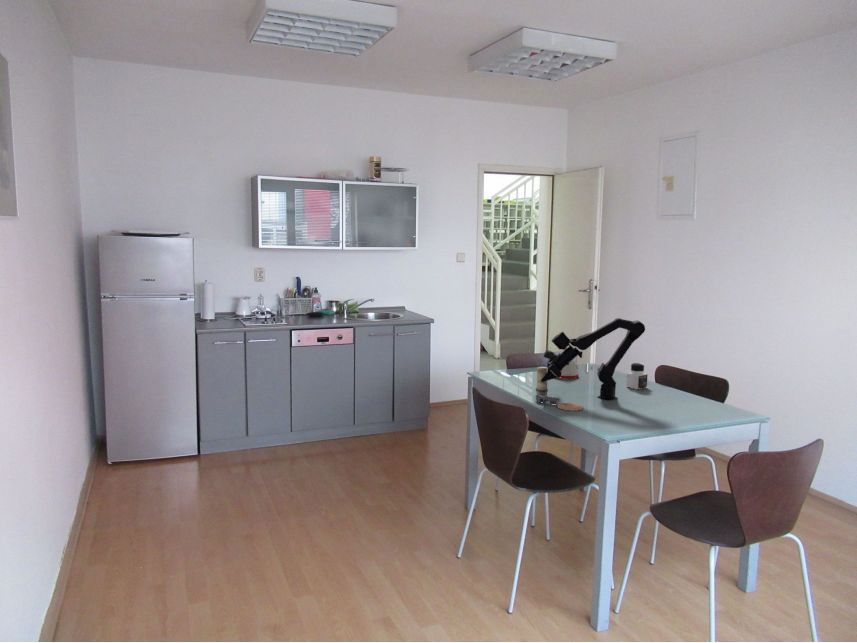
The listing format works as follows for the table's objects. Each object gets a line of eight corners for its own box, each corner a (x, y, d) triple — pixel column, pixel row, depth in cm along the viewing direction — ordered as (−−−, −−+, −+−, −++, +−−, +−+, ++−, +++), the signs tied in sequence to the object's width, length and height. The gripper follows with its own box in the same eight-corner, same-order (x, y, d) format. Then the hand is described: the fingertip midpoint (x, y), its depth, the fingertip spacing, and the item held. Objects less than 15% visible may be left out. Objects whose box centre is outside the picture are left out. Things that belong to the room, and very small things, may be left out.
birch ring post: (542, 393, 303) (543, 366, 301) (550, 395, 298) (551, 368, 297) (533, 394, 300) (533, 367, 299) (540, 397, 296) (541, 369, 294)
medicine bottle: (638, 390, 310) (639, 365, 309) (625, 387, 316) (627, 363, 315) (647, 388, 315) (648, 364, 313) (634, 385, 320) (636, 361, 319)
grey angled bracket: (541, 398, 294) (541, 391, 293) (560, 404, 283) (560, 397, 283) (529, 399, 290) (529, 393, 290) (548, 406, 279) (548, 399, 279)
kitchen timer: (554, 378, 333) (555, 350, 331) (549, 373, 347) (549, 346, 345) (581, 378, 334) (582, 350, 332) (574, 373, 347) (575, 346, 345)
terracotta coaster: (570, 403, 285) (570, 401, 285) (588, 408, 276) (588, 407, 276) (551, 406, 280) (551, 405, 280) (569, 412, 270) (569, 411, 270)
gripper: (553, 341, 304) (529, 362, 308) (554, 347, 286) (529, 370, 289) (569, 358, 304) (545, 379, 307) (572, 365, 286) (546, 388, 289)
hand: (541, 379), depth 298 cm, fingers open, 9 cm apart
